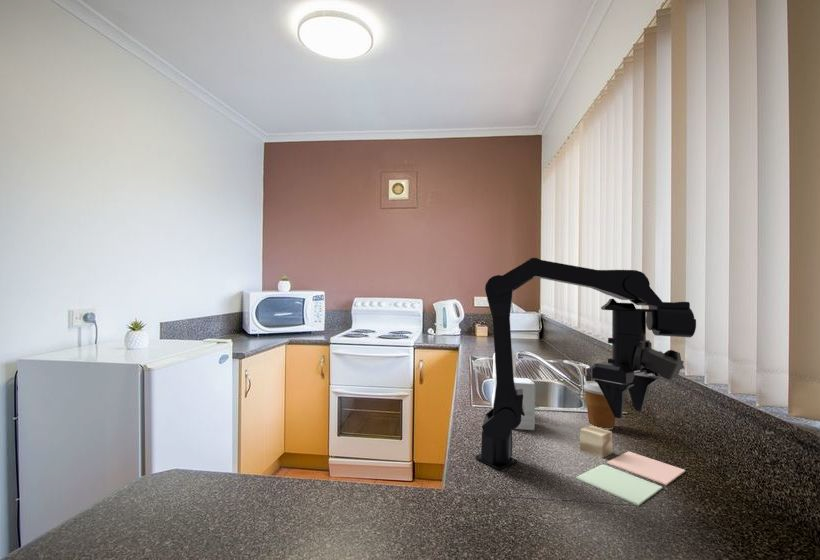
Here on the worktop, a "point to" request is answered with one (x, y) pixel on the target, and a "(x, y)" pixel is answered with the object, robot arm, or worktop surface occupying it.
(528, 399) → the supplement box
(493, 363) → the water bottle
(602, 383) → the robot arm
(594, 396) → the disposable coffee cup
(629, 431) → the worktop surface
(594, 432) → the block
